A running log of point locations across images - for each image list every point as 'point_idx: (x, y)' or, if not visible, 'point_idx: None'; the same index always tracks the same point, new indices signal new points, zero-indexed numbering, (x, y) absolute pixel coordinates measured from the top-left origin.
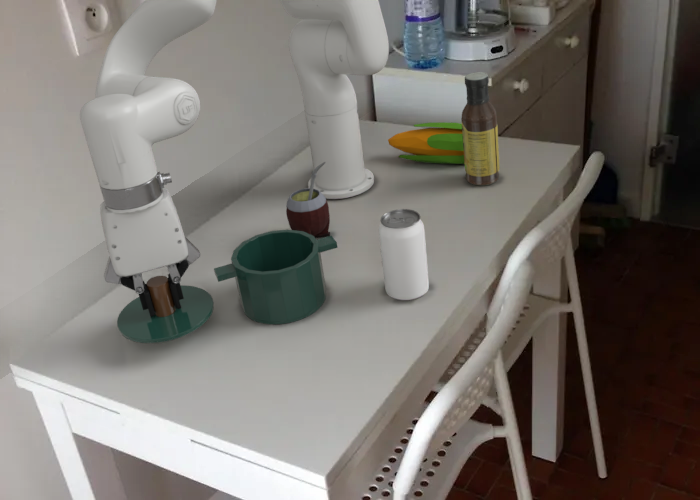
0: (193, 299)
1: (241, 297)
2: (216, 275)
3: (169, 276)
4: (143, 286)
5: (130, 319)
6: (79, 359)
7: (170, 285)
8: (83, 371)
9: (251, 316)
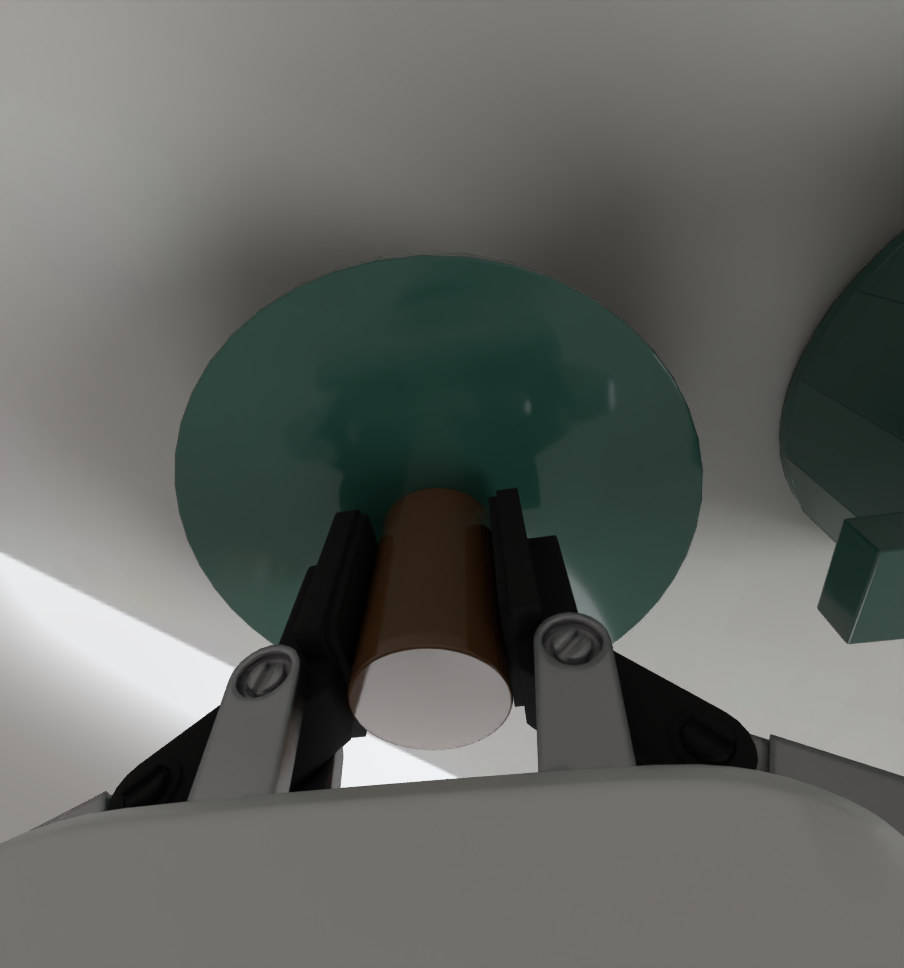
0: (599, 482)
1: (840, 495)
2: (845, 608)
3: (529, 701)
4: (339, 778)
5: (257, 544)
6: (76, 498)
7: (518, 701)
8: (130, 566)
9: (797, 493)
